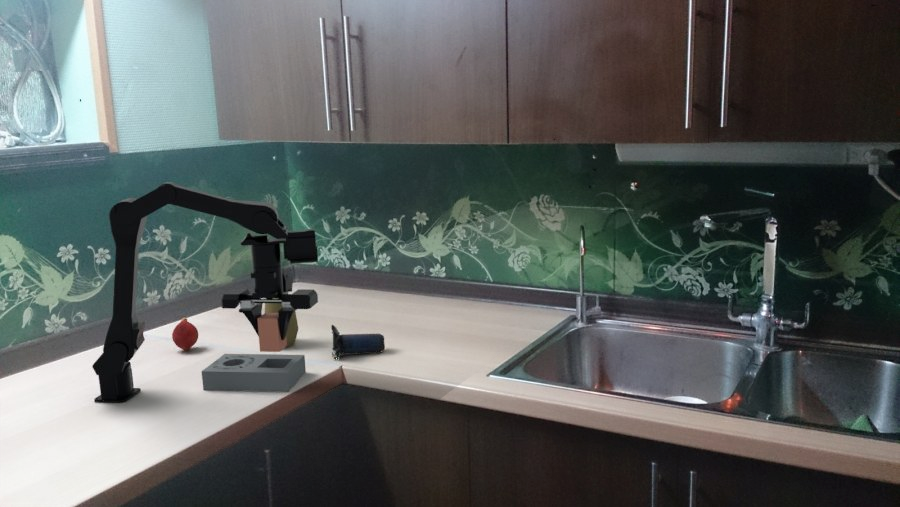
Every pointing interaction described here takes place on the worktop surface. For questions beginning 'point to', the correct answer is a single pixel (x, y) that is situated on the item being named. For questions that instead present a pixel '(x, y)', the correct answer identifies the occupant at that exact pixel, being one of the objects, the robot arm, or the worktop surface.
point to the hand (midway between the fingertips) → (272, 339)
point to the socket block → (254, 372)
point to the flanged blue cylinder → (356, 343)
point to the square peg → (270, 333)
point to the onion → (185, 335)
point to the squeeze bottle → (293, 323)
